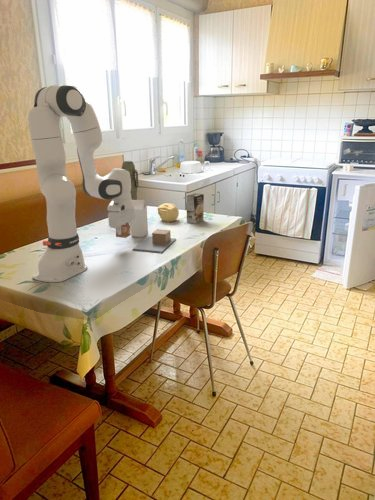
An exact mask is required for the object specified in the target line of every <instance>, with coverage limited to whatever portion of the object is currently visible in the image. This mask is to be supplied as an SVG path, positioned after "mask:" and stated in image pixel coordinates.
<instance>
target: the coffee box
mask: <svg viewBox="0 0 375 500" xmlns="http://www.w3.org/2000/svg"><path fill="white" fill-rule="evenodd" d="M204 196H205V195H204V193H203V194H202V193H192V194H189V195H186V223H189V224H190V223H191V224H194V225H195V224H198V223H201V222H203V221H204V214H205V212H204V211H205V209H204V208H205V207H204V206H205V205H204V200H205V199H204V198H205V197H204Z"/></svg>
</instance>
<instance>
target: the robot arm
mask: <svg viewBox="0 0 375 500" xmlns="http://www.w3.org/2000/svg"><path fill="white" fill-rule="evenodd" d="M64 117H65V118H66V119H67V121H68V122H69V123H70V126H71V130H72V133H73V136H74V140H75V144H76V152H77V157H78V161H79V165H80V170H81V174H82V191H84V194H85V195H86V196H88V197H90V198H97V199H101V200H105V201H107V200H108V201H109V200H111V201H110V202H109V204H108V205H107V207H106V208H107V211H108V212H107V217H108V219H107V220H108V226H109V228H111V229H115V230H116V229H117V231H118V235H121V234H122V230H121V226H122V225H124V224H125V225H131V224H130V221H131V220H133V219H134V218H135V210H134V206H133V204H132V198H131V193H130V191H131V178H130V174H129V172H128V171H127V170H124V169H122V168H116V167H115V168H112V169H111V171H110V172H108V173H107V174H105V175H104V176H100V175H99V173H97V172H98V171H97V169H96V163H95V160H94V152H95V151H96V150H97V149H98V148H100V146H101V144H102V142H103V133H102V129H101V126H100V123H99V120H98V117H97V115H96V112H95V110H94V107H93V105H92V104H91V103H90V101H88V100H86V99H85V97H84V95H83V93H82V92H81V90H80V89H79V88H78V87H77V86H75V85H72V84H53V85H49V86H45V87H41V88H40V89H39V90H37V91H36V93H35V95H34V104H33V108H31V109H30V110H29V112H28V116H27V119H28V120H27V121H28V129H29V136H30V141H31V146H32V149H33V154H34V158H35V165H36V171H37V173H36V174H37V179H38V180H37V181H38V186H39V189H40V192H41V194H42V195H43V196H44V197H45V201H46V225H47V231H48V237H47V240H43V241H42V246H44V247H45V246H46V247H47V248H46V249H45V251H44V253H43V255H42V256H41V258H40V259H39V261H38V265H37V269H38V270H37V272H35V273H34V274H33V275H32V278H33V279H34V280H35V281H39V282H45V283H46V282H47V283H60V282H64V281H66V280H68V279H70V278H73V277H74V276H76V275H78V274H80V273H82V272H84V271H86V270H88V266H87V265H86V263H85V258H84V254H83V250H82V248H81V246H80V244H79V243H80V236H79V233H78V229H77V221H76V197H77V189H76V187H75V185H74V183H73V181H72V180H71V179H69V178H68V176H67V167H66V166H67V165H66V160H67V156H66V151H65V146H64V141H63V136H62V132H61V127H60V121H61V118H64Z"/></svg>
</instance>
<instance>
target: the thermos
mask: <svg viewBox="0 0 375 500" xmlns="http://www.w3.org/2000/svg"><path fill="white" fill-rule="evenodd" d="M121 169H124V170H127V171H128V172H129V174H130V178H131V191H130V193H131V198H132V200H138V195H137V193H138V188H139V173H138V170H137V169H136V166H135V162H134V161H132V160H131V161H130V160H128V161H127V160H125V161H123V162H122V165H121Z"/></svg>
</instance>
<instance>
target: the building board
mask: <svg viewBox="0 0 375 500" xmlns="http://www.w3.org/2000/svg"><path fill="white" fill-rule="evenodd" d="M176 241H177V238H173V237H171V230H169V229H158V228H157V229H156V230H154V231H153V232H152V233H151V236H149V235H148V236H147V237H146V238H144V239H143V240H141V242H139V243H137V245H135V246H134V247H132V249H131V250H132V251H137V252H147V253H148V252H149V253H157V254H163V253H164V252H165V251H166V250H167V249H168V248H170V246H171V245H172V244H174V242H176Z"/></svg>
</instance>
